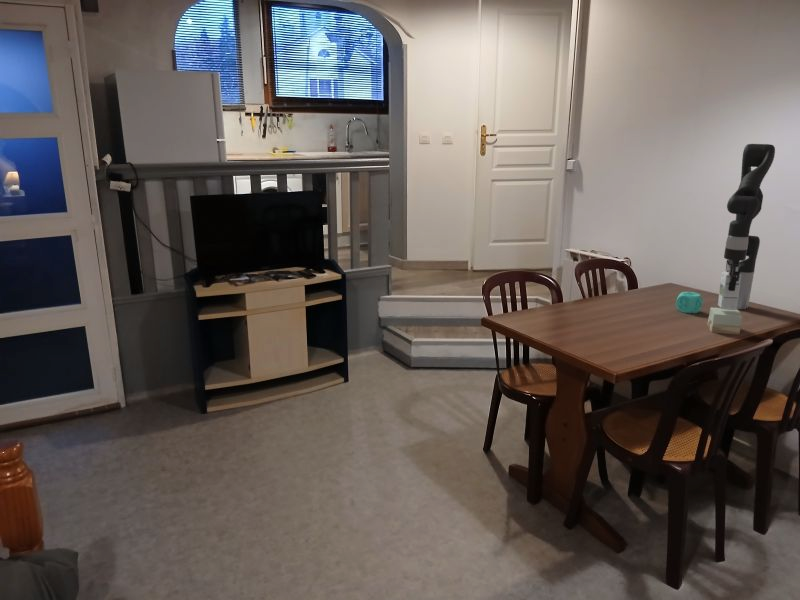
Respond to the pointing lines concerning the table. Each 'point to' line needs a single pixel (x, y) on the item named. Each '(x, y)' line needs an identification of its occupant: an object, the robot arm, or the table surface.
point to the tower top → (725, 316)
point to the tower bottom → (723, 328)
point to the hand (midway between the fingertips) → (729, 288)
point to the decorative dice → (689, 302)
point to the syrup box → (728, 293)
